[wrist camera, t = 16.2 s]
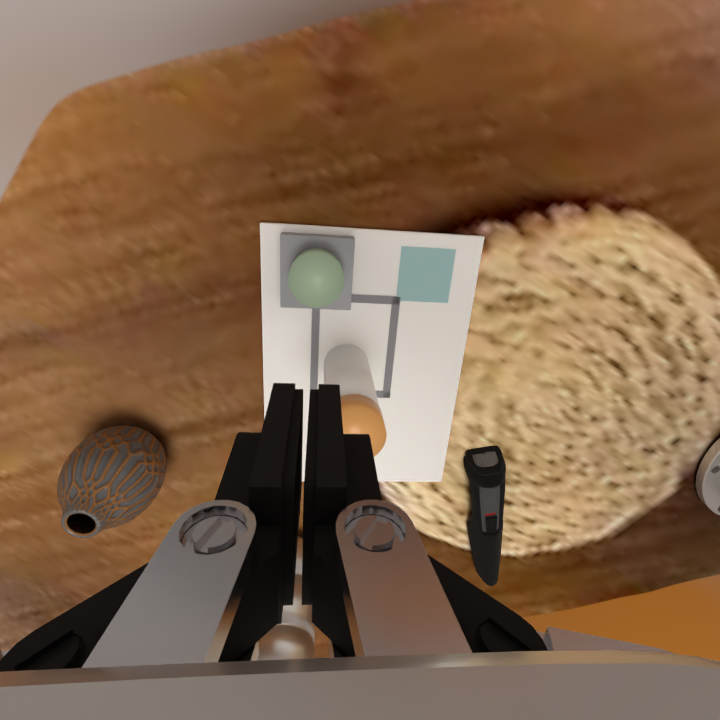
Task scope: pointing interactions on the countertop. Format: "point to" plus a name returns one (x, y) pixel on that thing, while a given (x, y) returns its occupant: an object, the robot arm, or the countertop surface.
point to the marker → (356, 393)
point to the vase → (110, 479)
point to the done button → (316, 277)
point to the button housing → (301, 241)
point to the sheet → (383, 335)
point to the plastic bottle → (291, 626)
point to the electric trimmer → (486, 509)
